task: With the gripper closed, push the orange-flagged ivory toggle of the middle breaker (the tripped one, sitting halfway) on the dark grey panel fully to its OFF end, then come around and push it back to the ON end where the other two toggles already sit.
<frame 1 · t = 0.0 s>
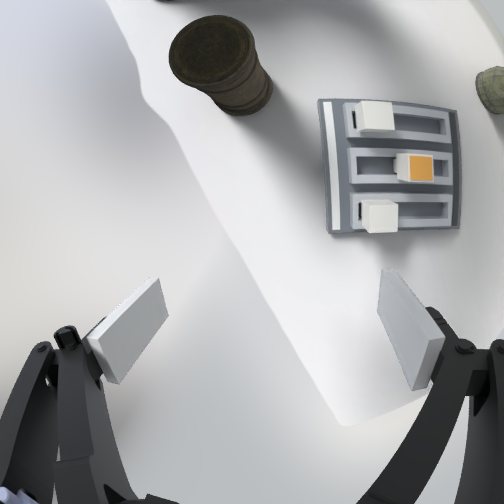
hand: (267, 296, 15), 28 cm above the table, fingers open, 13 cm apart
thermos: (489, 92, 27), on the table
panel: (396, 165, 36), on the table
container: (242, 90, 36), on the table
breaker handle: (411, 166, 31), point 6 cm above the table, slide at 5.5 cm
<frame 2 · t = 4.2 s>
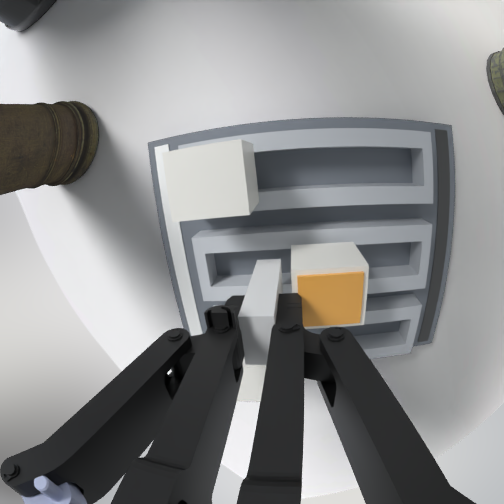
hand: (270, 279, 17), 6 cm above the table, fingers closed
panel: (314, 246, 22), on the table
container: (70, 142, 22), on the table
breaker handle: (324, 274, 17), point 6 cm above the table, slide at 5.8 cm, touching gripper
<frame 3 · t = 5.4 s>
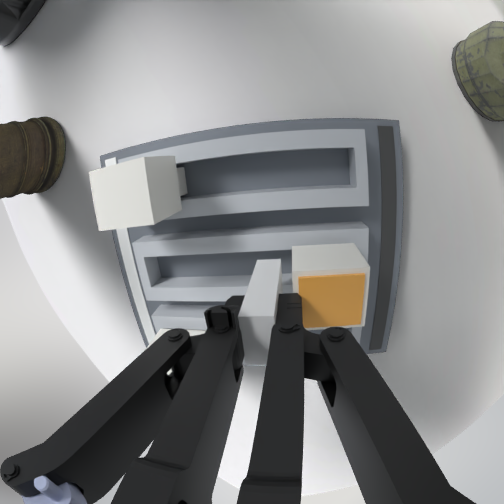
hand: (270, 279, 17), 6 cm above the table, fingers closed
thermos: (482, 80, 14), on the table
panel: (252, 250, 23), on the table
container: (43, 154, 23), on the table
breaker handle: (325, 275, 17), point 6 cm above the table, slide at 10.9 cm, touching gripper
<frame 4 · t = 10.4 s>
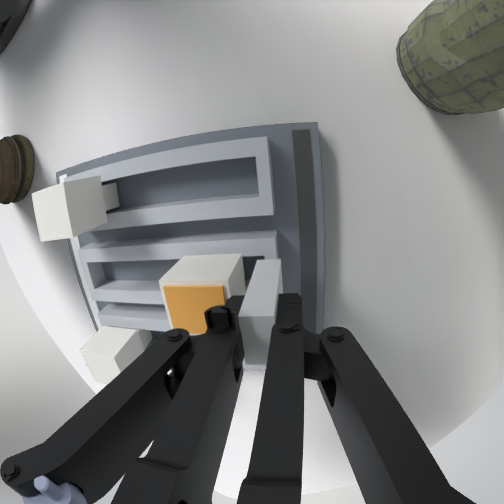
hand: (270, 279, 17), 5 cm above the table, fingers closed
thermos: (437, 69, 15), on the table
panel: (181, 257, 24), on the table
container: (18, 167, 23), on the table
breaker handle: (212, 284, 18), point 6 cm above the table, slide at 9.9 cm, touching gripper
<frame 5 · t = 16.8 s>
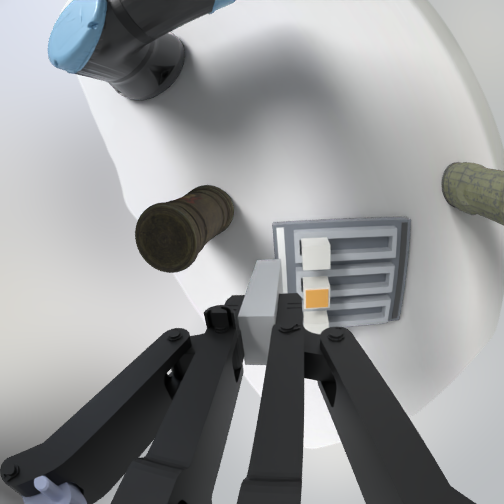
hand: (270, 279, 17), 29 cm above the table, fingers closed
thermos: (457, 185, 38), on the table
panel: (342, 273, 47), on the table
container: (208, 209, 47), on the table
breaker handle: (315, 288, 43), point 6 cm above the table, slide at 0.0 cm
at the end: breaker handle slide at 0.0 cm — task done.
